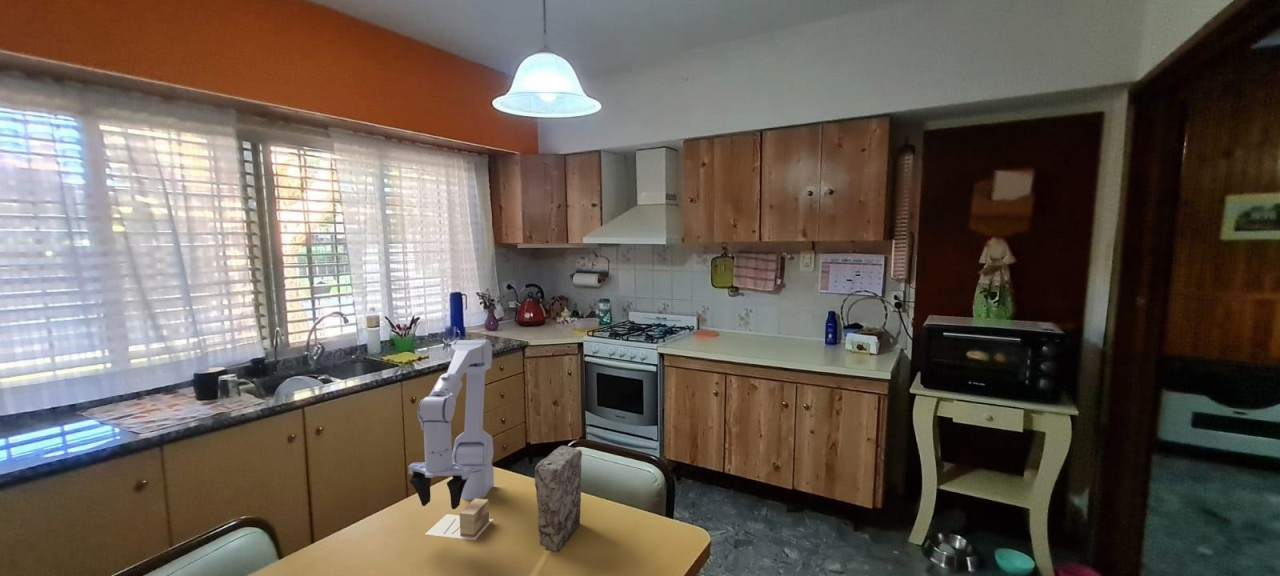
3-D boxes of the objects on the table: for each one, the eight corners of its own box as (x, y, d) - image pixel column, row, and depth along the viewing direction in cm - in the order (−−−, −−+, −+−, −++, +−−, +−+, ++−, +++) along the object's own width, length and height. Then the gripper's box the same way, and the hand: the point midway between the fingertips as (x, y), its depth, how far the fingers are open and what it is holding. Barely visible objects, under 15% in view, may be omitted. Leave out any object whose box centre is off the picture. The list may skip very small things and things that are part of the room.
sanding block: (475, 519, 120) (475, 498, 120) (489, 520, 119) (488, 499, 119) (460, 535, 113) (459, 513, 113) (474, 537, 112) (473, 514, 112)
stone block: (564, 554, 108) (562, 468, 106) (535, 550, 109) (533, 465, 108) (584, 522, 120) (582, 445, 119) (558, 519, 122) (556, 442, 121)
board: (446, 518, 123) (446, 514, 123) (493, 523, 120) (493, 518, 120) (424, 539, 114) (424, 534, 114) (475, 545, 111) (474, 540, 111)
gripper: (398, 453, 107) (401, 511, 108) (456, 458, 104) (459, 518, 105) (418, 440, 114) (421, 495, 115) (474, 445, 111) (476, 501, 112)
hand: (440, 505), depth 110 cm, fingers open, 7 cm apart
